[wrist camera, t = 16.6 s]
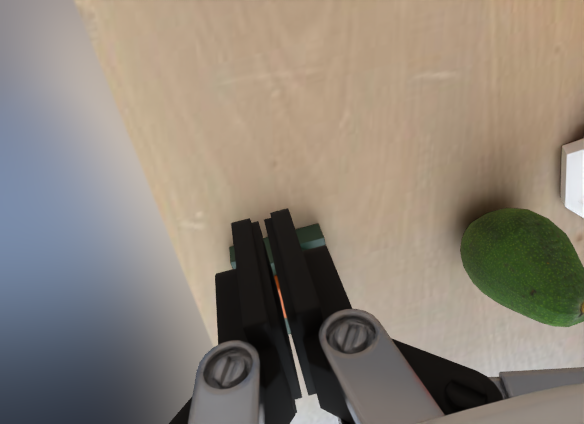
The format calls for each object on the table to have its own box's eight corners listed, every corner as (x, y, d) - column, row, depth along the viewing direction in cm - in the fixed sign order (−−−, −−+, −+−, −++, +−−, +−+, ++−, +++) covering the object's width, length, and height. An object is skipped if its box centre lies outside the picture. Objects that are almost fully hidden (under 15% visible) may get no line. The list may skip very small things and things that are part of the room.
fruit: (454, 191, 39) (542, 277, 29) (534, 185, 40) (646, 266, 30) (437, 263, 43) (509, 360, 33) (510, 255, 44) (601, 347, 34)
